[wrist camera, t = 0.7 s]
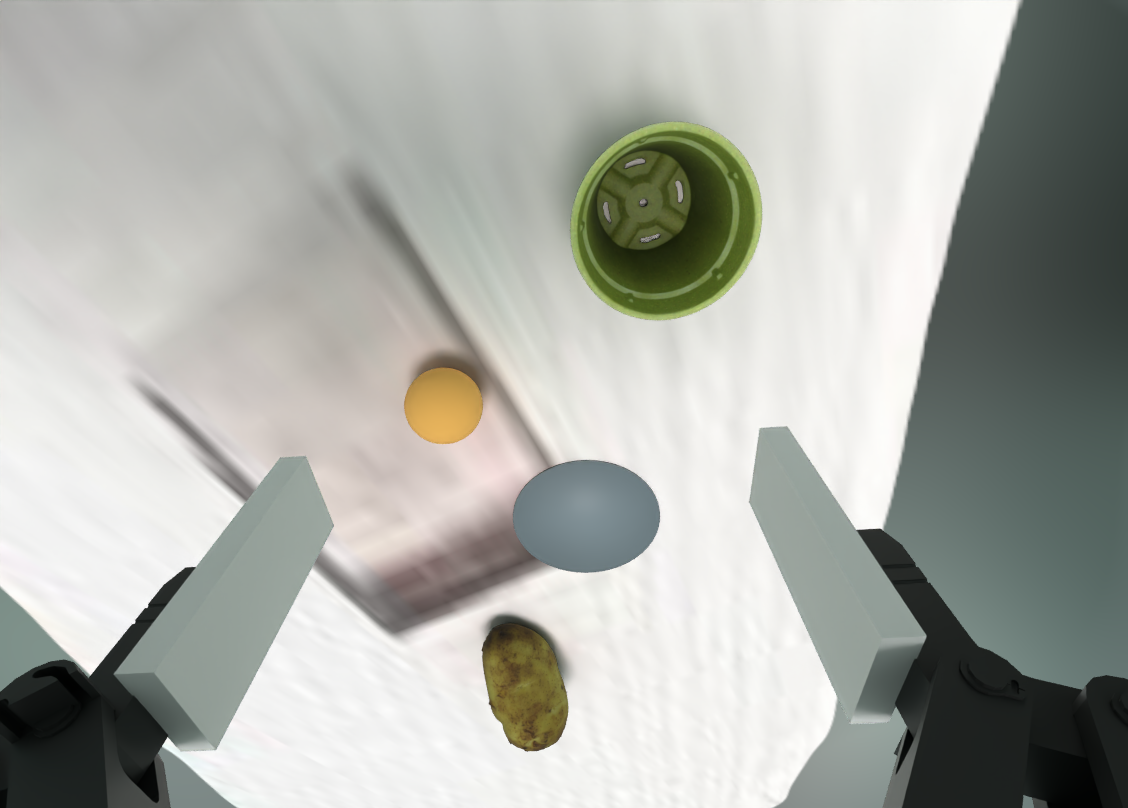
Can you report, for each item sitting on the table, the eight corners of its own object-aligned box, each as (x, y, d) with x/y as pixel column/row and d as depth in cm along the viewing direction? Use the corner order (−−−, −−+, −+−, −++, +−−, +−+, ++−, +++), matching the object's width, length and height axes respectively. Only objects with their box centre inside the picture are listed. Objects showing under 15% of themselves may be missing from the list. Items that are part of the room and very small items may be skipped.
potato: (565, 610, 53) (564, 687, 46) (569, 686, 59) (569, 764, 52) (483, 612, 53) (470, 688, 46) (496, 687, 60) (486, 764, 53)
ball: (402, 394, 40) (380, 433, 36) (438, 341, 38) (419, 375, 33) (464, 429, 42) (450, 471, 37) (501, 381, 40) (491, 419, 35)
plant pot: (704, 92, 30) (748, 90, 23) (729, 250, 35) (773, 291, 27) (550, 147, 32) (544, 162, 24) (593, 291, 36) (599, 341, 29)
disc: (485, 530, 47) (485, 531, 47) (571, 434, 42) (571, 435, 42) (598, 589, 51) (598, 591, 51) (690, 508, 46) (690, 510, 46)
